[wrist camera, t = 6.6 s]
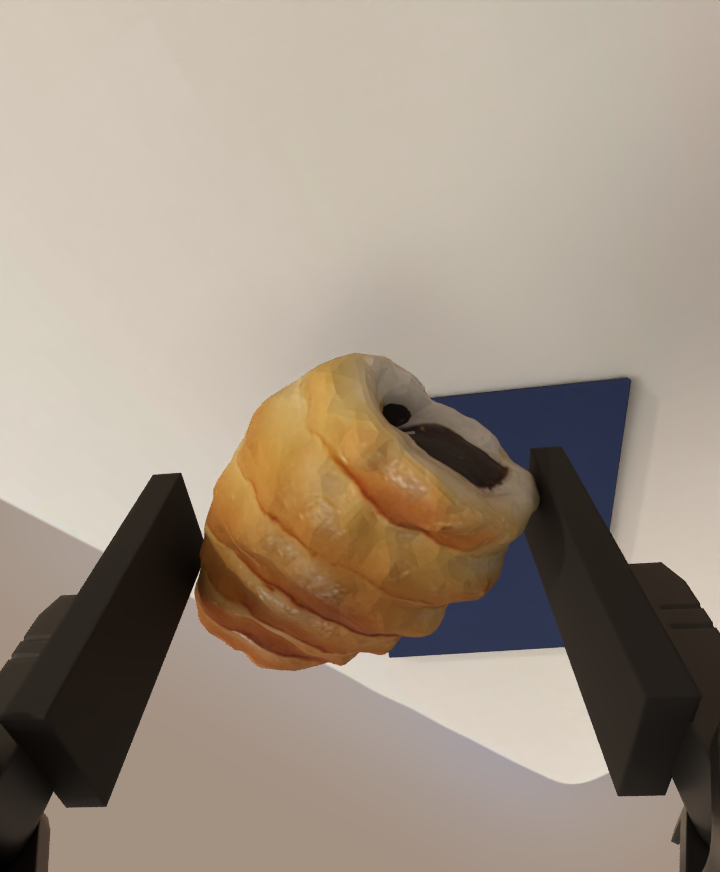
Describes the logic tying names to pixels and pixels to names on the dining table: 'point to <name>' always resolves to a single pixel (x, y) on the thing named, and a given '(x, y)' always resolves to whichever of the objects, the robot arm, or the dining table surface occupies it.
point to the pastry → (354, 518)
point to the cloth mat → (519, 579)
